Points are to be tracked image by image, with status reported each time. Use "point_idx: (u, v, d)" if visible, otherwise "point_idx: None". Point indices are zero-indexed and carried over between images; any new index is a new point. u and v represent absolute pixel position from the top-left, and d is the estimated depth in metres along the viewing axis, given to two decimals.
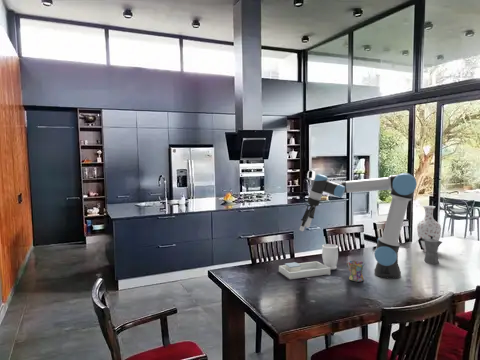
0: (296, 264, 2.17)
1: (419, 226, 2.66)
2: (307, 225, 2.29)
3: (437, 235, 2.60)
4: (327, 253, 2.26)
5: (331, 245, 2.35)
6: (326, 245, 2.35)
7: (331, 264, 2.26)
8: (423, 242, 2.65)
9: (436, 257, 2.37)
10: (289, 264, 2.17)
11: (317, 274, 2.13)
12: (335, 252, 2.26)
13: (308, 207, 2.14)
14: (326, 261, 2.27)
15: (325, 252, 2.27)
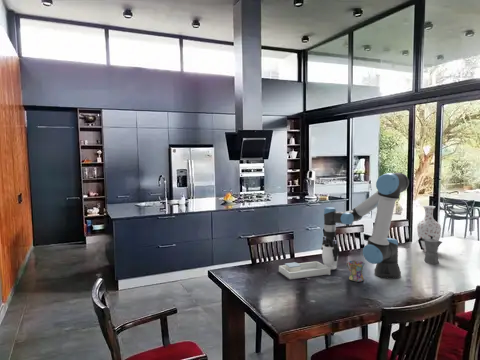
0: (296, 264, 2.17)
1: (419, 226, 2.66)
2: None
3: (437, 235, 2.60)
4: (327, 253, 2.26)
5: None
6: None
7: (331, 264, 2.26)
8: (423, 242, 2.65)
9: (436, 257, 2.37)
10: (289, 264, 2.17)
11: (317, 274, 2.13)
12: None
13: (335, 242, 2.24)
14: (326, 261, 2.27)
15: (325, 252, 2.27)
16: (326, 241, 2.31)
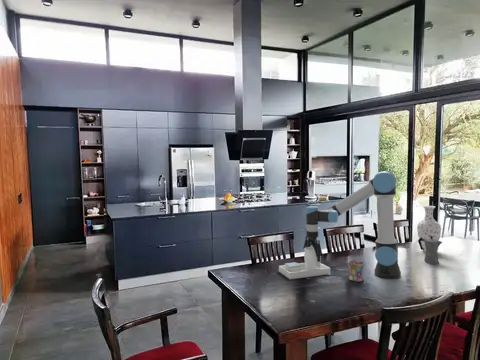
0: (296, 264, 2.17)
1: (419, 226, 2.66)
2: None
3: (437, 235, 2.60)
4: (309, 256, 2.17)
5: None
6: (309, 248, 2.25)
7: (313, 268, 2.17)
8: (423, 242, 2.65)
9: (436, 257, 2.37)
10: (289, 264, 2.17)
11: (317, 274, 2.13)
12: None
13: (317, 241, 2.14)
14: (308, 265, 2.18)
15: (307, 255, 2.18)
16: (308, 241, 2.21)
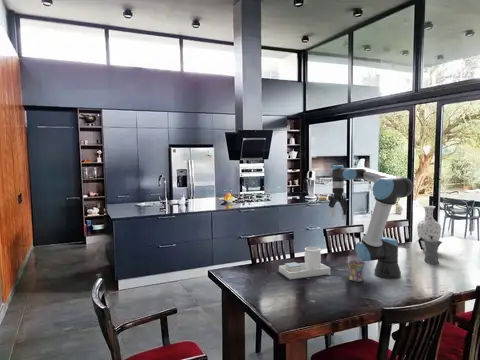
0: (296, 264, 2.17)
1: (419, 226, 2.66)
2: (332, 215, 2.46)
3: (437, 235, 2.60)
4: (309, 256, 2.17)
5: (314, 248, 2.25)
6: (309, 248, 2.25)
7: (313, 268, 2.17)
8: (423, 242, 2.65)
9: (436, 257, 2.37)
10: (289, 264, 2.17)
11: (317, 274, 2.13)
12: (317, 255, 2.16)
13: (343, 196, 2.32)
14: (308, 265, 2.18)
15: (307, 255, 2.18)
16: (334, 198, 2.39)
